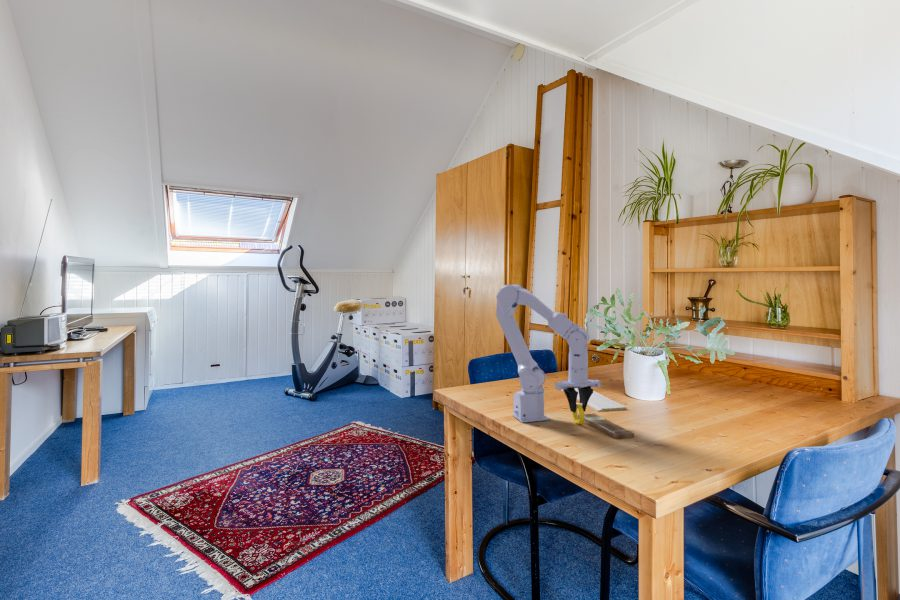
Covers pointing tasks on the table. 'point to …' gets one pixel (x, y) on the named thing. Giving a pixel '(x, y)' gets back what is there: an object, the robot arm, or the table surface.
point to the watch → (581, 420)
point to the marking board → (606, 426)
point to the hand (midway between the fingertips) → (577, 411)
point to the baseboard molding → (601, 402)
